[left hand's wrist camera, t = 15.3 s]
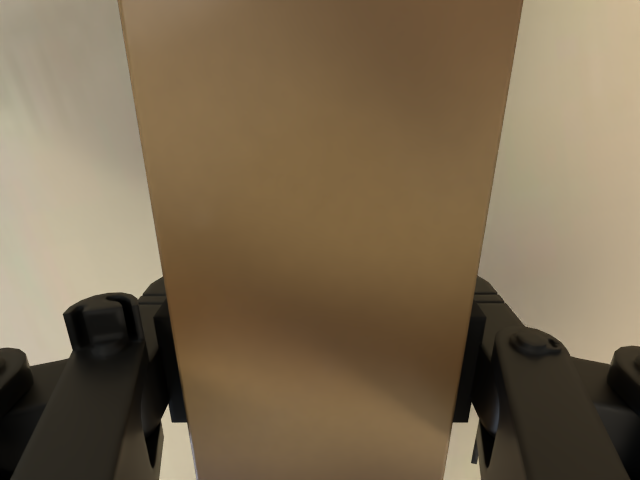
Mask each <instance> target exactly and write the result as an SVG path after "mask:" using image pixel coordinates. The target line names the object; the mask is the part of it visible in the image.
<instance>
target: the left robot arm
mask: <svg viewBox="0 0 640 480" xmlns="http://www.w3.org/2000/svg"><path fill="white" fill-rule="evenodd" d="M63 316H64V320H65V324H66V327H67V331H68V335H69V338H70V342H71V346H72V349H73V351H72V353H71V355H70V357H69V358H68V359H64V360H60V361H55V362H50V363H45V364H39V365H34V366H29V363H28V360H27V357H26V354H25V353H24V352H23V351H21V350H20V349H15V348H1V349H0V480H159V475H160V466H161V457H162V449H163V440H164V435H163V429H162V424H161V418H162V416H163V414H164V412H165V410H166V407H167V405H168V404H169V409H170V415H171V420H172V422H187V418H186V412H185V406H184V400H183V394H182V388H181V381H180V375H179V369H178V363H177V357H176V351H175V345H174V339H173V333H172V327H171V321H170V315H169V309H168V303H167V297H166V291H165V285H164V278H163V277H162V278H160V279H158V280H157V281H155V282H153V283H152V284H151V285H150V286H149V287H148V288H147V289H146V291H145V292H144V293H143V296H141V297H140V298H139V299H137V298H136V297H134V296H133V295H131V294H126V293H105V294H100V295H95V296H92V297H89V298H87V299H84V300H81V301H79V302H78V303H76V304H74V305H72V306H71V307H69V308H68V309H67V310H66V311H65V312H64V313H63ZM471 402H472V404H473V406H474V408H475V410H476V412H477V415H478V417H479V424H478V429H477V434H476V439H475V444H474V450H473V455H472V461H471V463H473V464H477V460H478V456H479V465H480V474H481V480H640V347H639V346H626V347H621V348H619V349H618V350H616V351H615V352H614V356H613V359H612V362H611V365H610V364H605V363H600V362H594V361H589V360H584V359H579V358H575V357H571V356H570V355H569V352H568V350H567V349H566V348H565V347H564V345H563V344H562V343H561V342H560V341H559V340H557V339H556V338H554V337H553V336H551V335H550V334H547V333H545V332H542V331H540V330H538V329H533V328H529V327H525V326H524V325H523V323H522V322H521V321H520V320H519V319H518V317H517V316H516V315H515V314H514V313H513V311H512V310H511V309H510V308H509V306H508V305H507V304H506V303H504V300H503V299H502V298H501V297H500V295H497V292H496V291H495V289H494V288H493V287H492V286H491V284H490V283H489V282H487V281H485V280H484V279H482V278H480V277H479V276H477V280H476V286H475V292H474V298H473V304H472V310H471V316H470V321H469V327H468V333H467V339H466V345H465V351H464V357H463V363H462V369H461V375H460V381H459V387H458V393H457V399H456V405H455V411H454V417H453V422H468V419H469V413H470V408H471Z"/></svg>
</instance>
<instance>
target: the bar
mask: <svg viewBox="0 0 640 480" xmlns="http://www.w3.org/2000/svg"><path fill="white" fill-rule="evenodd" d="M522 5H523V0H118V6H119V12H120V18H121V24H122V30H123V36H124V42H125V48H126V54H127V60H128V66H129V73H130V79H131V85H132V91H133V97H134V103H135V109H136V115H137V121H138V127H139V133H140V139H141V145H142V151H143V157H144V163H145V169H146V176H147V182H148V188H149V194H150V200H151V206H152V212H153V218H154V224H155V230H156V236H157V242H158V248H159V254H160V260H161V266H162V272H163V278H164V285H165V291H166V297H167V303H168V309H169V315H170V321H171V327H172V333H173V339H174V345H175V351H176V357H177V363H178V369H179V375H180V381H181V388H182V394H183V400H184V406H185V412H186V418H187V424H188V430H189V436H190V442H191V448H192V454H193V460H194V466H195V472H196V478H197V480H443V477H444V471H445V465H446V459H447V453H448V447H449V441H450V435H451V429H452V423H453V417H454V411H455V405H456V399H457V393H458V387H459V381H460V375H461V369H462V363H463V357H464V351H465V345H466V339H467V333H468V327H469V321H470V316H471V310H472V304H473V298H474V292H475V286H476V280H477V274H478V268H479V262H480V256H481V250H482V244H483V238H484V232H485V226H486V220H487V214H488V208H489V202H490V196H491V190H492V184H493V178H494V172H495V166H496V160H497V154H498V148H499V142H500V136H501V131H502V125H503V119H504V113H505V107H506V101H507V95H508V89H509V83H510V77H511V71H512V65H513V59H514V53H515V47H516V41H517V35H518V29H519V23H520V17H521V11H522Z"/></svg>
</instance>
